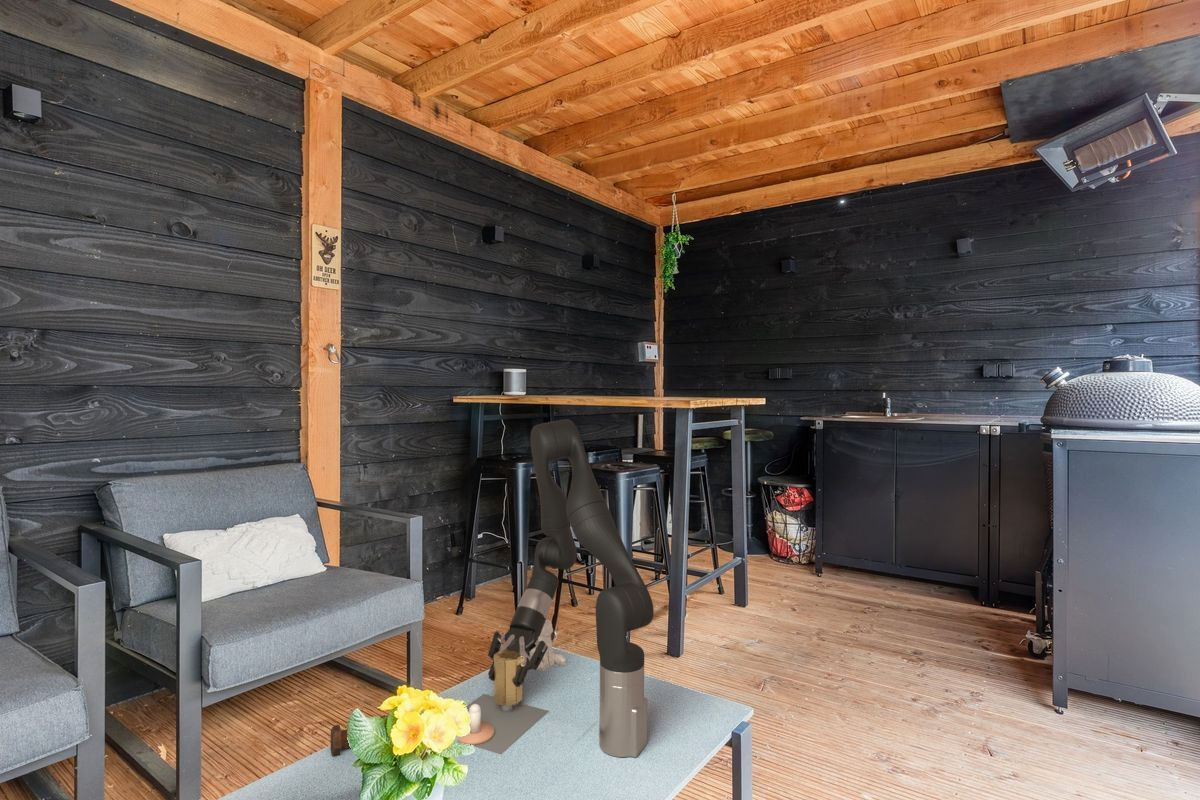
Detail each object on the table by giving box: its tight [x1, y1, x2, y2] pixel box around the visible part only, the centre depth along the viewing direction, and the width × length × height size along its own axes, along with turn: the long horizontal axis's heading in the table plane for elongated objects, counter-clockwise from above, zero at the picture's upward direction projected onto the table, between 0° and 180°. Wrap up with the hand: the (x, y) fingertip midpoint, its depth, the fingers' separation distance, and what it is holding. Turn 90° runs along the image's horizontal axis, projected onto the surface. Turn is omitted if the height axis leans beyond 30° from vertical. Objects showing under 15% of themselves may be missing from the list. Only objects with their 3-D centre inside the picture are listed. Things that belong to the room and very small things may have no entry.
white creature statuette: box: [530, 619, 568, 673], centre depth 172 cm, size 10×9×12 cm
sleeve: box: [493, 649, 523, 706], centre depth 146 cm, size 6×6×10 cm
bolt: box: [329, 724, 350, 758], centre depth 134 cm, size 6×5×15 cm
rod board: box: [457, 693, 550, 755], centre depth 140 cm, size 18×20×8 cm
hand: (503, 682), depth 144 cm, fingers closed on sleeve, 6 cm apart
